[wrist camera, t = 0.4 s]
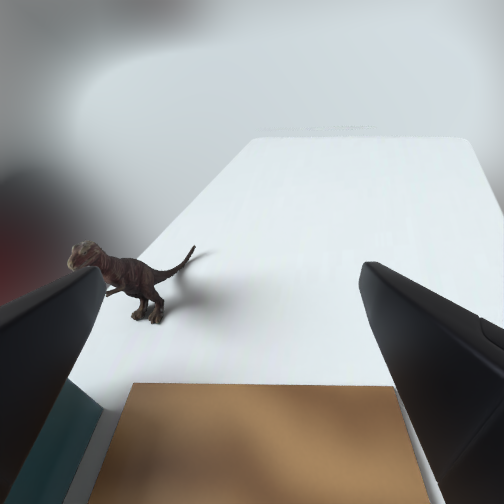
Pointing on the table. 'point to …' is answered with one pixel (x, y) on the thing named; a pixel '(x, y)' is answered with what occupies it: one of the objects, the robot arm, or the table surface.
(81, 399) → the toaster
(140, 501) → the mat
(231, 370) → the table surface
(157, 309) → the dinosaur model
